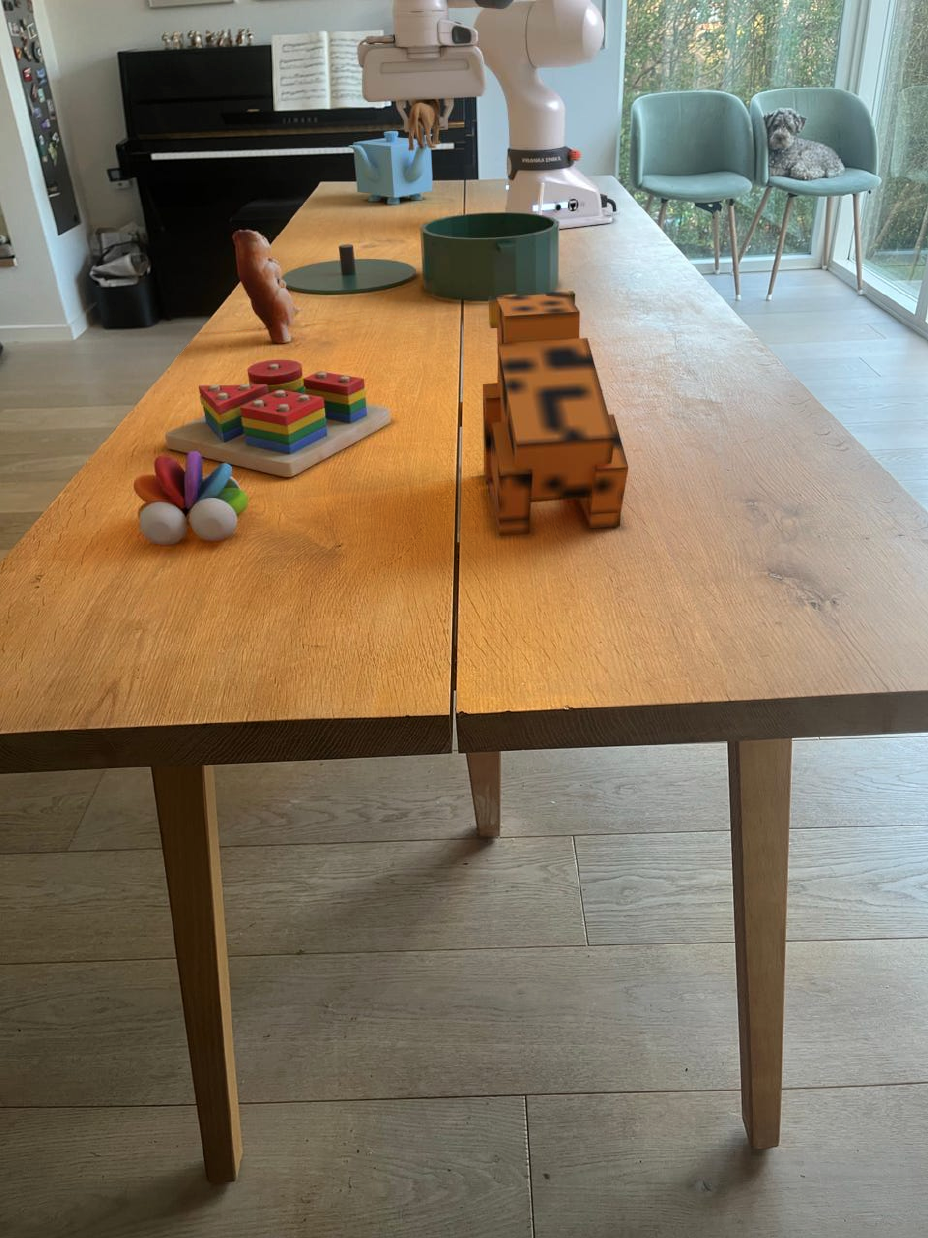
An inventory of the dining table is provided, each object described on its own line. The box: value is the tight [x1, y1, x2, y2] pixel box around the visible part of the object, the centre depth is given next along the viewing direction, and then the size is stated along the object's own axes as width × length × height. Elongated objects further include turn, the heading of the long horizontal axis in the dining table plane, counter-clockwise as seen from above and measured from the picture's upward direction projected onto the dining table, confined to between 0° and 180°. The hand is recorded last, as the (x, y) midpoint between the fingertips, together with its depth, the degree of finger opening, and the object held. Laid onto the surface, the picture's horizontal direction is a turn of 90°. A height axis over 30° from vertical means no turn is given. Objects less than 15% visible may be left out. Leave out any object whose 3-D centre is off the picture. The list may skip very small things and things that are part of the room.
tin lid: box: [281, 243, 417, 295], centre depth 165 cm, size 23×23×6 cm
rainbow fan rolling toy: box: [133, 451, 249, 547], centre depth 87 cm, size 8×10×7 cm
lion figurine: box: [407, 99, 441, 151], centre depth 162 cm, size 15×5×9 cm, turn 0°
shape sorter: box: [165, 359, 392, 478], centre depth 106 cm, size 18×17×6 cm
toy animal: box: [482, 290, 629, 536], centre depth 88 cm, size 10×20×16 cm, turn 5°
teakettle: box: [348, 130, 434, 206], centre depth 231 cm, size 19×19×15 cm
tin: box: [419, 211, 560, 302], centre depth 157 cm, size 22×27×10 cm
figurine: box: [232, 229, 302, 344], centre depth 134 cm, size 6×8×15 cm
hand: (426, 130), depth 164 cm, fingers closed on lion figurine, 4 cm apart
